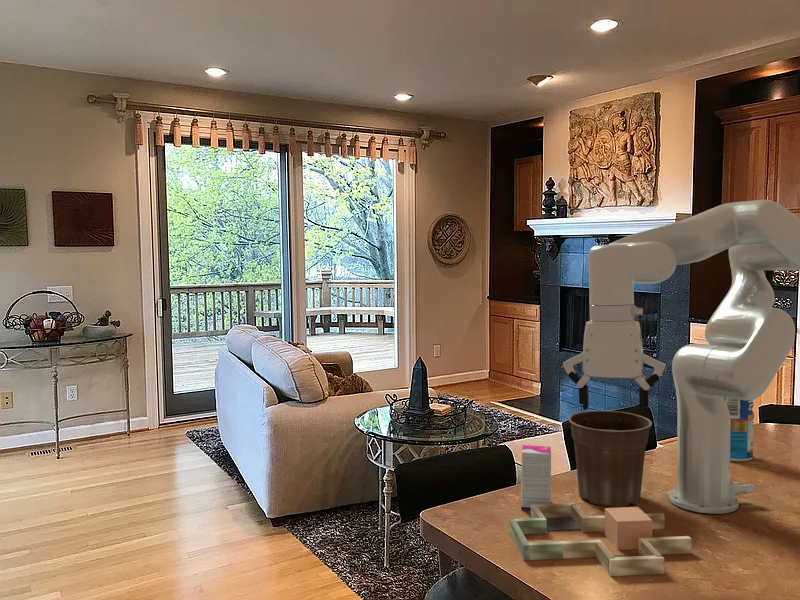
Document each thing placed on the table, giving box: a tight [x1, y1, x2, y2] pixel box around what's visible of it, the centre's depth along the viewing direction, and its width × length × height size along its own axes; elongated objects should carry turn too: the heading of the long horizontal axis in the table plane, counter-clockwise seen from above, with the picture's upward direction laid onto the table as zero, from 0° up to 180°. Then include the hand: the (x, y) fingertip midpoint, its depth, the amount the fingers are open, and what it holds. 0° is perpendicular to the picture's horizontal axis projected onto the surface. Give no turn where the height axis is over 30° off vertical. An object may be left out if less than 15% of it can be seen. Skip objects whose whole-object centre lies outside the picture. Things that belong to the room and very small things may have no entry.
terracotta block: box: [603, 506, 653, 551], centre depth 114 cm, size 6×6×5 cm
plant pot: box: [568, 410, 653, 508], centre depth 135 cm, size 16×16×16 cm
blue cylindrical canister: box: [723, 397, 755, 462], centre depth 160 cm, size 8×8×20 cm
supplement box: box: [520, 444, 552, 511], centre depth 132 cm, size 6×6×12 cm
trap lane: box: [508, 502, 692, 577], centre depth 114 cm, size 28×24×2 cm
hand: (613, 409), depth 118 cm, fingers open, 9 cm apart
